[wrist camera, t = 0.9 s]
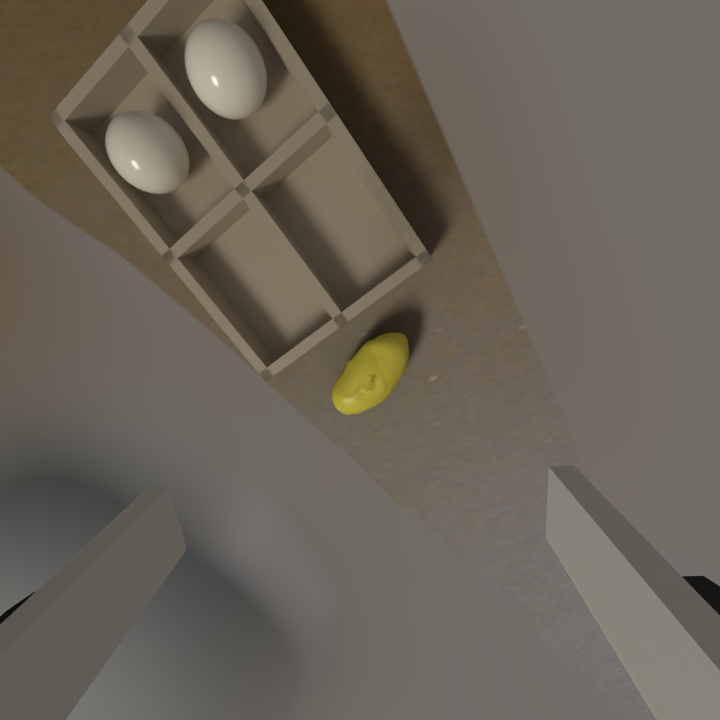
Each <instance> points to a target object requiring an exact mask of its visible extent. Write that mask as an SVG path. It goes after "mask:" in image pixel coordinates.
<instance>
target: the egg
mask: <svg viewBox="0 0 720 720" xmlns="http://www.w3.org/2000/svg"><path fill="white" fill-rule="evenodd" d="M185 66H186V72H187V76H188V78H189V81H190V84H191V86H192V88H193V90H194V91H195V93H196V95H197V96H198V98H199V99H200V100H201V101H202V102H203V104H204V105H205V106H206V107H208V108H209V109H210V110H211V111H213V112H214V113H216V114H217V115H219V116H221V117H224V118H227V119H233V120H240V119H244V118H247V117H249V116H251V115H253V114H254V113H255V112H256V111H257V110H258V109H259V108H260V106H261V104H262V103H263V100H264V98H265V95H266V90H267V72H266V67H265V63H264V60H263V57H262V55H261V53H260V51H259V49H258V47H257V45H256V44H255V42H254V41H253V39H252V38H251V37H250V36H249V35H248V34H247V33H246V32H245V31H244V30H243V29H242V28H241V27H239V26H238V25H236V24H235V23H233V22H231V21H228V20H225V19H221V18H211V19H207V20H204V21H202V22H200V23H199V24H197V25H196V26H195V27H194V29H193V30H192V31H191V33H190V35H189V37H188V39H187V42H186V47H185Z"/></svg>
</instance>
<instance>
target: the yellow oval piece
mask: <svg viewBox="0 0 720 720" xmlns="http://www.w3.org/2000/svg"><path fill="white" fill-rule="evenodd" d="M408 358H409V345H408V340H407V338H406V336H405V335H404V334H402V333H398V332H390V333H386V334H383V335H380V336H378V337H376V338H374V339H372V340H369V341H367V342H366V343H365V344H364V345H363V346H362V347H361V348H360V350H359V351H358V352H357V353H356V354H355V355H354V356H353V358H352V359H351V360H348V361H347V364H346V366H345V368H344V370H343V372H342V373H341V375H340V376H339V377H338V379H337V380H336V382H335V384H334V387H333V391H332V400H333V403H334V405H335V407H336V408H337V409H338V410H339V411H340V412H342V413H344V414H357V413H360V412H363V411H365V410H367V409H370V408H372V407H374V406H376V405H377V404H379V403H380V402H382V401H383V400H384V399H385V398H386V397H387V396H388V395H389V394H390V393H391V391H392V390H393V389H394V388H395V386H396V385H397V383H398V381H399V380H400V378H401V377H402V375H403V373H404V371H405V368H406V365H407V362H408Z"/></svg>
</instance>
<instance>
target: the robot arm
mask: <svg viewBox="0 0 720 720" xmlns="http://www.w3.org/2000/svg"><path fill="white" fill-rule="evenodd" d="M546 538H547V540H548V542H549V543H550V545H551V547H552V548H553V550H554V552H555V553H556V555H557V556H558V558H559V560H560V561H561V563H562V565H563V566H564V568H565V570H566V571H567V573H568V575H569V576H570V578H571V580H572V581H573V583H574V585H575V586H576V588H577V589H578V591H579V593H580V594H581V596H582V598H583V599H584V601H585V603H586V604H587V606H588V608H589V609H590V611H591V613H592V614H593V616H594V618H595V619H596V621H597V623H598V624H599V626H600V627H601V629H602V631H603V632H604V634H605V636H606V637H607V639H608V641H609V642H610V644H611V646H612V647H613V649H614V651H615V652H616V654H617V656H618V657H619V659H620V660H621V662H622V664H623V665H624V667H625V669H626V670H627V672H628V674H629V675H630V677H631V679H632V680H633V682H634V684H635V685H636V687H637V689H638V690H639V692H640V693H641V695H642V697H643V698H644V700H645V702H646V703H647V705H648V707H649V708H650V710H651V712H652V713H653V715H654V717H655V718H656V720H720V587H719V586H718V585H717V584H715V583H713V582H712V581H710V580H709V579H707V578H706V577H704V576H681V575H680V574H679V573H678V572H677V571H676V570H675V569H674V568H673V567H672V566H671V565H670V564H669V563H668V562H667V561H666V560H665V559H664V558H663V557H662V556H661V555H660V554H659V553H658V552H657V551H656V550H655V549H654V547H653V546H652V545H651V544H650V543H649V542H648V541H646V539H645V538H644V537H643V536H642V535H641V534H640V533H639V532H638V531H637V530H636V529H635V528H634V527H633V526H632V525H631V524H630V523H629V522H628V521H627V520H626V519H625V518H624V517H623V516H622V515H621V513H620V512H619V511H617V509H616V508H614V506H613V505H612V504H611V503H610V502H609V501H608V500H607V499H606V498H605V497H604V496H603V495H602V494H601V493H600V492H599V491H598V490H597V489H596V488H595V487H594V486H593V485H592V484H591V483H590V482H589V481H588V480H587V479H586V477H585V476H584V475H583V474H582V473H581V472H580V471H579V470H578V469H577V468H576V467H575V466H574V465H571V466H552V467H549V472H548V497H547V521H546ZM185 551H186V546H185V542H184V539H183V536H182V532H181V529H180V525H179V522H178V519H177V515H176V512H175V508H174V505H173V501H172V498H171V495H170V491H169V488H168V487H154V488H148V489H147V490H146V491H145V492H143V493H142V494H141V495H140V496H139V497H138V498H137V499H136V500H135V501H134V502H132V503H131V504H130V505H129V506H128V507H127V508H126V509H125V510H124V511H123V512H122V513H121V514H119V515H118V516H117V517H116V518H115V519H114V520H113V521H112V522H111V523H110V524H109V525H108V526H107V527H105V528H104V529H103V530H102V531H101V532H100V533H99V534H98V535H97V536H96V537H95V538H93V539H92V540H91V541H90V542H89V543H88V544H87V545H86V546H85V547H84V548H83V549H82V550H80V551H79V552H78V553H77V554H76V555H75V556H74V557H73V558H72V559H71V560H70V561H69V562H67V563H66V564H65V565H64V566H63V567H62V568H61V569H60V570H59V571H58V572H57V573H56V574H54V576H52V577H51V578H50V579H49V580H48V581H47V582H46V583H45V584H44V585H42V586H41V587H40V588H39V589H38V590H37V591H36V592H34V593H32V594H30V595H29V596H28V597H26V598H25V599H23V600H22V601H20V602H19V603H17V604H16V605H14V606H13V607H12V608H10V609H9V610H7V611H6V612H5V613H4V614H3V615H2V616H0V720H66V719H67V717H68V716H69V714H70V713H71V711H72V710H73V709H74V707H75V706H76V704H77V703H78V702H79V700H80V699H81V697H82V696H83V695H84V693H85V692H86V690H87V689H88V687H89V686H90V685H91V683H92V682H93V680H94V679H95V678H96V676H97V675H98V673H99V672H100V671H101V669H102V667H103V666H104V664H105V663H106V662H107V661H108V659H109V658H110V656H111V655H112V653H113V652H114V651H115V649H116V648H117V647H118V645H119V644H120V642H121V641H122V640H123V638H124V637H125V635H126V634H127V632H128V631H129V630H130V628H131V627H132V625H133V624H134V623H135V621H136V620H137V618H138V617H139V616H140V614H141V612H142V611H143V610H144V608H145V607H146V606H147V604H148V603H149V601H150V600H151V599H152V597H153V595H154V594H155V593H156V592H157V590H158V589H159V587H160V586H161V585H162V583H163V582H164V580H165V579H166V577H167V576H168V575H169V573H170V571H171V570H172V569H173V567H174V566H175V565H176V563H177V562H178V560H179V559H180V558H181V556H182V555H183V553H184V552H185Z"/></svg>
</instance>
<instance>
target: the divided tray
mask: <svg viewBox="0 0 720 720" xmlns="http://www.w3.org/2000/svg"><path fill="white" fill-rule="evenodd" d="M211 18H221V19H225V20H228V21H231V22H233V23H235V24H236V25H238V26H239V27H241V28H242V29H243V30H244V31H245V32H246V33H247V34H248V35H249V36H250V37H251V38H252V39H253V41H254V42H255V44H256V45H257V47H258V49H259V51H260V53H261V55H262V57H263V60H264V63H265V67H266V72H267V90H266V95H265V98H264V100H263V103H262V104H261V106H260V108H259V109H258V110H257V111H256V112H255V113H254V114H253V115H251V116H249V117H247V118H244V119H240V120H233V119H227V118H224V117H221V116H219V115H217V114H216V113H214V112H213V111H211V110H210V109H209V108H208V107H206V106H205V105H204V104H203V102H202V101H201V100H200V99H199V98H198V96H197V95H196V93H195V91H194V90H193V88H192V86H191V84H190V81H189V78H188V76H187V72H186V66H185V47H186V42H187V39H188V37H189V35H190V33H191V31H192V30H193V29H194V27H195V26H196V25H197V24H199V23H200V22H202V21H204V20H207V19H211ZM130 110H140V111H146V112H149V113H152V114H155V115H157V116H158V117H160V118H162V119H164V120H165V121H166V122H168V123H169V124H170V125H171V126H172V127H173V128H174V129H175V130H176V131H177V132H178V134H179V135H180V136H181V138H182V140H183V141H184V143H185V145H186V148H187V151H188V155H189V160H190V167H189V173H188V176H187V178H186V180H185V182H184V183H183V184H182V185H181V186H180V187H179V188H178V189H176V190H175V191H172V192H170V193H166V194H153V193H149V192H145V191H142V190H140V189H138V188H136V187H134V186H133V185H131V184H130V183H128V182H127V181H126V180H125V179H124V178H123V177H122V176H121V175H120V174H119V173H118V172H117V171H116V169H115V168H114V166H113V165H112V163H111V161H110V159H109V156H108V154H107V150H106V145H105V136H106V131H107V128H108V126H109V124H110V122H111V121H112V120H113V119H114V118H115V117H116V116H117V115H119V114H121V113H123V112H126V111H130ZM48 119H49V120H50V121H51V122H52V124H53V125H54V126H55V127H56V128H57V130H58V131H59V132H60V133H61V134H62V136H63V137H64V138H65V139H66V141H67V142H68V143H69V144H70V145H71V147H72V148H73V149H74V150H75V151H76V153H77V154H78V155H79V156H80V157H81V159H82V160H83V161H84V162H85V164H86V165H87V166H88V167H89V168H90V170H91V171H92V172H93V173H94V174H95V176H96V177H97V178H98V179H99V180H100V182H101V183H102V184H103V185H104V186H105V188H106V189H107V190H108V191H109V193H110V194H111V195H112V196H113V197H114V199H115V200H116V201H117V202H118V203H119V205H120V206H121V207H122V208H123V209H124V211H125V212H126V213H127V214H128V216H129V217H130V218H131V219H132V220H133V222H134V223H135V224H136V225H137V226H138V228H139V229H140V230H141V231H142V232H143V234H144V235H145V236H146V237H147V239H148V240H149V241H150V242H151V243H152V245H153V246H154V247H155V248H156V249H157V251H158V252H159V253H160V254H161V255H162V257H163V258H164V259H165V260H166V262H167V263H168V264H169V265H170V266H171V268H172V269H173V270H174V271H175V272H176V274H177V275H178V276H179V277H180V278H181V280H182V281H183V282H184V283H185V285H186V286H187V287H188V288H189V289H190V291H191V292H192V293H193V294H194V295H195V297H196V298H197V299H198V300H199V301H200V303H201V304H202V305H203V306H204V308H205V309H206V310H207V311H208V312H209V314H210V315H211V316H212V317H213V318H214V320H215V321H216V322H217V323H218V324H219V326H220V327H221V328H222V329H223V331H224V332H225V333H226V334H227V335H228V337H229V338H230V339H231V340H232V341H233V343H234V344H235V345H236V346H237V347H238V349H239V350H240V351H241V352H242V353H243V355H244V356H245V357H246V358H247V360H248V361H249V362H250V363H251V364H252V366H253V367H254V368H255V369H256V370H257V372H258V373H259V374H260V375H261V376H262V378H263V379H264V380H265V381H267V380H269V379H270V378H271V377H273V376H274V375H275V374H277V373H278V372H280V371H281V370H282V369H284V368H285V367H286V366H288V365H289V364H291V363H292V362H293V361H295V360H296V359H297V358H299V357H300V356H301V355H303V354H304V353H306V352H307V351H308V350H310V349H311V348H312V347H314V346H315V345H317V344H318V343H319V342H321V341H322V340H323V339H325V338H326V337H327V336H329V335H330V334H332V333H333V332H334V331H336V330H337V329H338V328H340V327H341V326H342V325H344V324H345V323H347V322H348V321H349V320H351V319H352V318H353V317H355V316H356V315H358V314H359V313H360V312H362V311H363V310H364V309H366V308H367V307H368V306H370V305H371V304H373V303H374V302H375V301H377V300H378V299H379V298H381V297H382V296H384V295H385V294H386V293H388V292H389V291H390V290H392V289H393V288H394V287H396V286H397V285H399V284H400V283H401V282H403V281H404V280H405V279H407V278H408V277H410V276H411V275H412V274H414V273H415V272H416V271H418V270H419V269H420V268H422V267H423V266H425V265H426V264H427V263H429V262H430V261H431V260H433V259H432V257H431V256H430V254H429V253H428V251H427V250H426V248H425V247H424V245H423V244H422V242H421V241H420V239H419V238H418V236H417V235H416V233H415V232H414V230H413V229H412V227H411V226H410V224H409V223H408V221H407V220H406V218H405V217H404V215H403V213H402V212H401V210H400V209H399V207H398V206H397V204H396V203H395V201H394V200H393V198H392V197H391V195H390V194H389V192H388V191H387V189H386V188H385V186H384V185H383V183H382V182H381V180H380V179H379V177H378V176H377V174H376V172H375V171H374V169H373V168H372V166H371V165H370V163H369V162H368V160H367V159H366V157H365V156H364V154H363V153H362V151H361V150H360V148H359V147H358V145H357V144H356V142H355V141H354V139H353V138H352V136H351V135H350V133H349V132H348V130H347V128H346V127H345V125H344V124H343V122H342V121H341V119H340V118H339V116H338V115H337V113H336V112H335V110H334V109H333V107H332V106H331V104H330V103H329V101H328V100H327V98H326V97H325V95H324V94H323V92H322V91H321V89H320V87H319V86H318V84H317V83H316V81H315V80H314V78H313V77H312V75H311V74H310V72H309V71H308V69H307V68H306V66H305V65H304V63H303V62H302V60H301V59H300V57H299V56H298V54H297V53H296V51H295V50H294V48H293V47H292V45H291V43H290V42H289V40H288V39H287V37H286V36H285V34H284V33H283V31H282V30H281V28H280V27H279V25H278V24H277V22H276V21H275V19H274V18H273V16H272V15H271V13H270V12H269V10H268V9H267V7H266V6H265V4H264V2H263V1H262V0H148V1H147V2H146V3H145V4H144V5H143V7H142V8H141V9H140V10H139V11H138V12H137V14H136V15H135V16H134V17H133V18H132V19H131V21H130V22H129V23H128V24H127V25H126V27H125V28H124V29H123V30H122V31H121V32H120V34H119V35H118V36H117V37H116V38H115V39H114V41H113V42H112V43H111V44H110V45H109V47H108V48H107V49H106V50H105V51H104V52H103V54H102V55H101V56H100V57H99V58H98V59H97V61H96V62H95V63H94V64H93V65H92V67H91V68H90V69H89V70H88V71H87V72H86V74H85V75H84V76H83V77H82V78H81V79H80V81H79V82H78V83H77V84H76V85H75V87H74V88H73V89H72V90H71V91H70V92H69V94H68V95H67V96H66V97H65V98H64V99H63V101H62V102H61V103H60V104H59V105H58V107H57V108H56V109H55V110H54V111H53V112H52V114H51V115H50V116H49V117H48Z"/></svg>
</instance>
